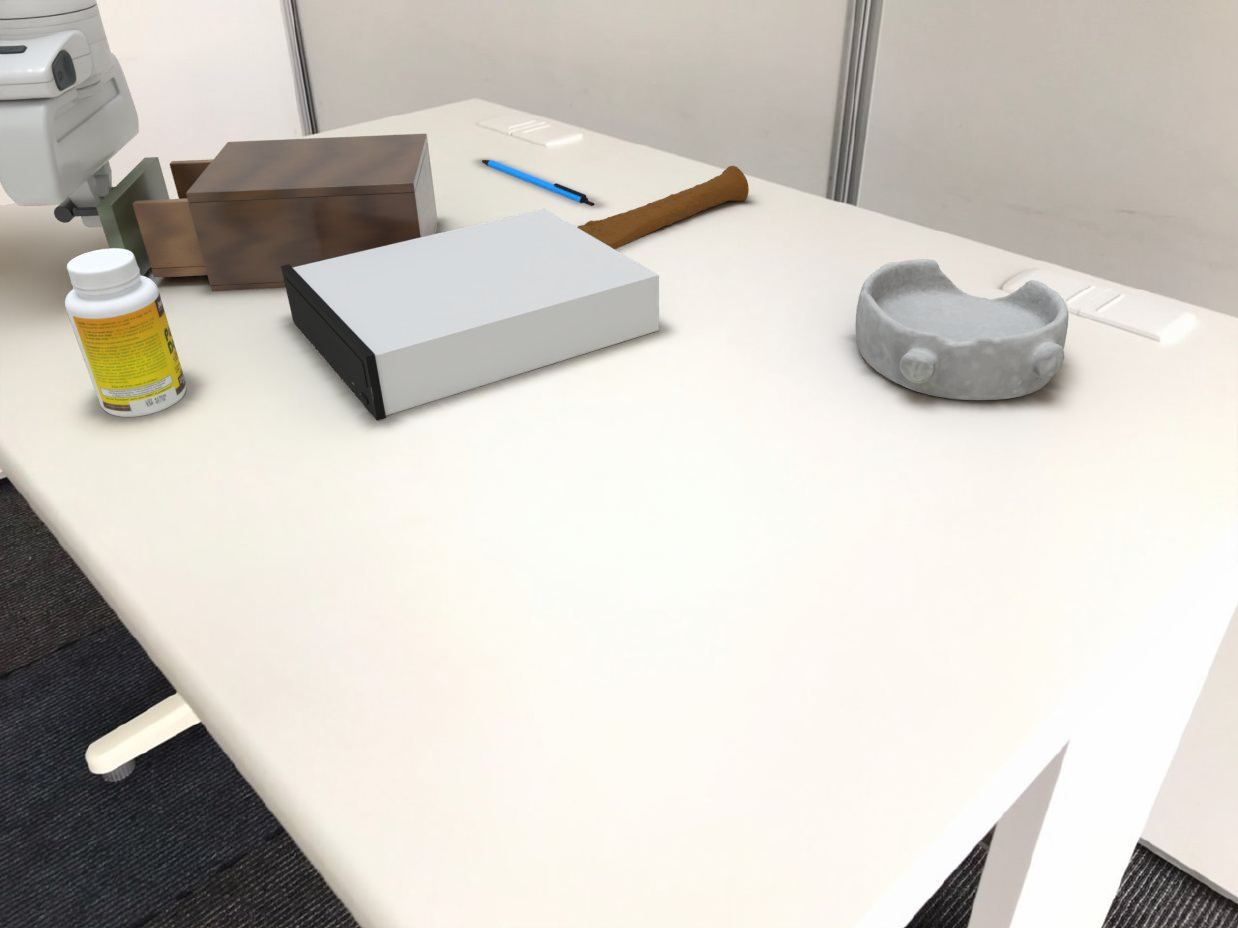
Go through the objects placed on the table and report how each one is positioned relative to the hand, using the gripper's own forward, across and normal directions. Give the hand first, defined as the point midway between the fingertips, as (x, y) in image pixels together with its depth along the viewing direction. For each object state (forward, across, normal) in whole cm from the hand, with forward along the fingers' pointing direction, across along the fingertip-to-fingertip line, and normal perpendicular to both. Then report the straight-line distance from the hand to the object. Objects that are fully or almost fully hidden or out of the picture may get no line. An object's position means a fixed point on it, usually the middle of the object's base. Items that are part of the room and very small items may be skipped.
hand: (101, 221), depth 86 cm
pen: (+4, -17, +37) cm, 41 cm away
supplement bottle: (+4, +24, +10) cm, 26 cm away
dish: (+4, +25, +66) cm, 70 cm away
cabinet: (+4, 0, +19) cm, 19 cm away
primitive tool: (+4, -4, +49) cm, 49 cm away
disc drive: (+4, +16, +32) cm, 36 cm away
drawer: (+3, 0, +8) cm, 9 cm away
